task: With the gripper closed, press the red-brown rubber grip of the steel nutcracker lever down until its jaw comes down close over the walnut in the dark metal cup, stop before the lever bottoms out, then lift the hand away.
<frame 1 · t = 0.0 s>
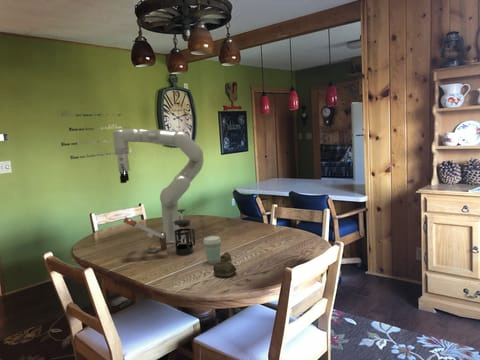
hand: (124, 181, 214), 37 cm above the table, tool pointing down, fingers open, 9 cm apart
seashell: (222, 276, 163), on the table
nutcracker lever: (144, 229, 193), point 14 cm above the table, hinge at 30.0°
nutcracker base: (146, 256, 195), on the table
coffee cup: (213, 262, 181), on the table
french press: (185, 252, 198), on the table
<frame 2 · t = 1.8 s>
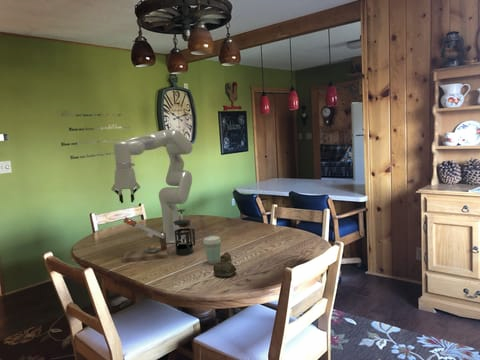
hand: (127, 202, 190), 29 cm above the table, tool pointing down, fingers open, 4 cm apart
nothing on the table moved.
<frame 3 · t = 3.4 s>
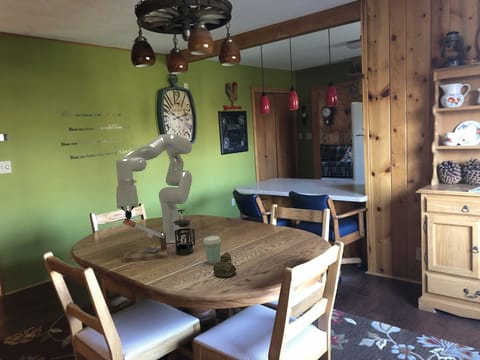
hand: (128, 218, 191), 21 cm above the table, tool pointing down, fingers closed
nutcracker lever: (144, 230, 193), point 14 cm above the table, hinge at 28.3°, touching gripper
everything else where it was.
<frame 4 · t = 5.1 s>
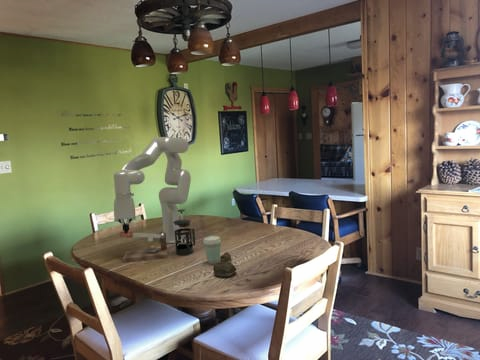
hand: (126, 231, 191), 14 cm above the table, tool pointing down, fingers closed
nutcracker lever: (142, 236, 193), point 11 cm above the table, hinge at 8.4°, touching gripper
everything else where it was.
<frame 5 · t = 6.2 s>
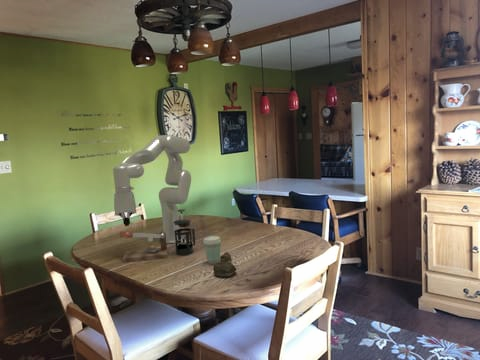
hand: (127, 225, 192), 17 cm above the table, tool pointing down, fingers closed
nutcracker lever: (142, 236, 193), point 11 cm above the table, hinge at 8.3°
everything else where it was.
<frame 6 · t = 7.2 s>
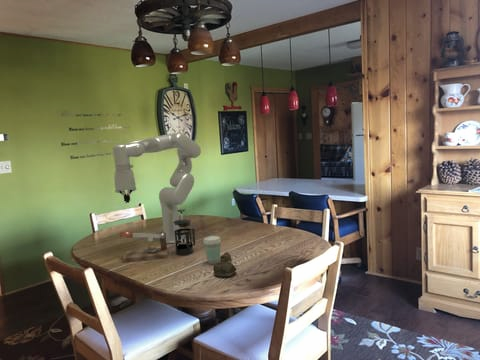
hand: (127, 202, 200), 28 cm above the table, tool pointing down, fingers closed
nothing on the table moved.
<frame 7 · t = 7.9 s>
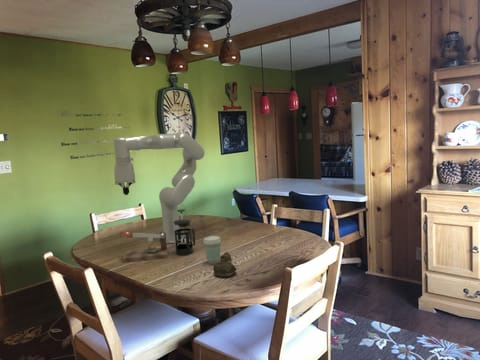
hand: (126, 194, 203), 31 cm above the table, tool pointing down, fingers closed
nothing on the table moved.
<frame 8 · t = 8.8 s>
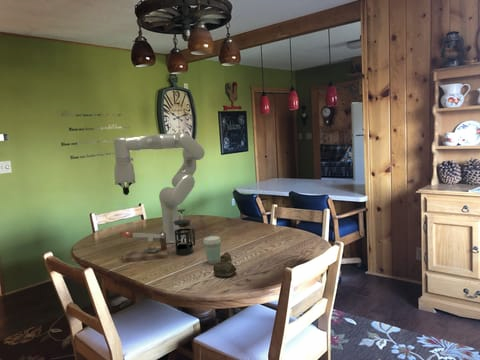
hand: (126, 194, 203), 31 cm above the table, tool pointing down, fingers closed
nothing on the table moved.
at the end: nutcracker lever at +8° (first picture: +30°); french press moved 0.2 cm from its start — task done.
